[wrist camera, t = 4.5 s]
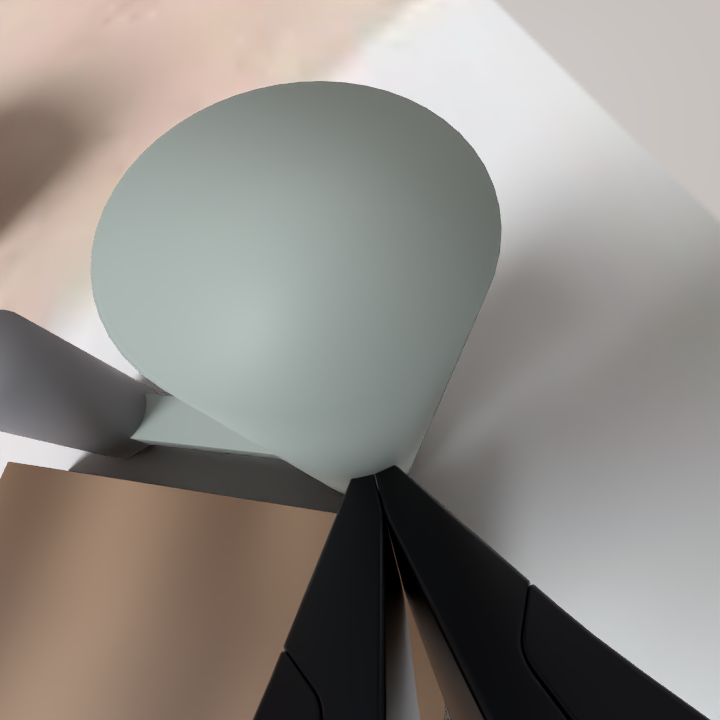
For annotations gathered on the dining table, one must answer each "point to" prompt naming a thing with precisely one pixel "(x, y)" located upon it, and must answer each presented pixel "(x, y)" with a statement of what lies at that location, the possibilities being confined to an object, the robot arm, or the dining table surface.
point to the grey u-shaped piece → (274, 287)
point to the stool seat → (151, 599)
